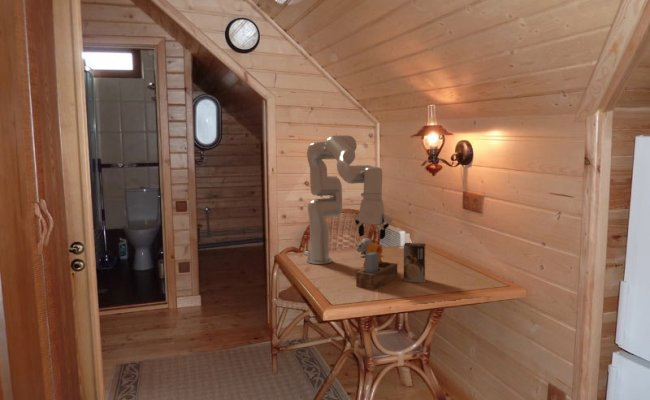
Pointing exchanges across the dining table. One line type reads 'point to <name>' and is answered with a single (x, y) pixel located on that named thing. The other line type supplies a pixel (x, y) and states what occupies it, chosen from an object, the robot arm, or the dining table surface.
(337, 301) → the dining table surface
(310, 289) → the dining table surface
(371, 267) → the blue gray rectangular block
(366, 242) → the round bodied animal figurine
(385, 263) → the wooden compartment box
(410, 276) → the coffee box
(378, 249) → the orange irregular piece
